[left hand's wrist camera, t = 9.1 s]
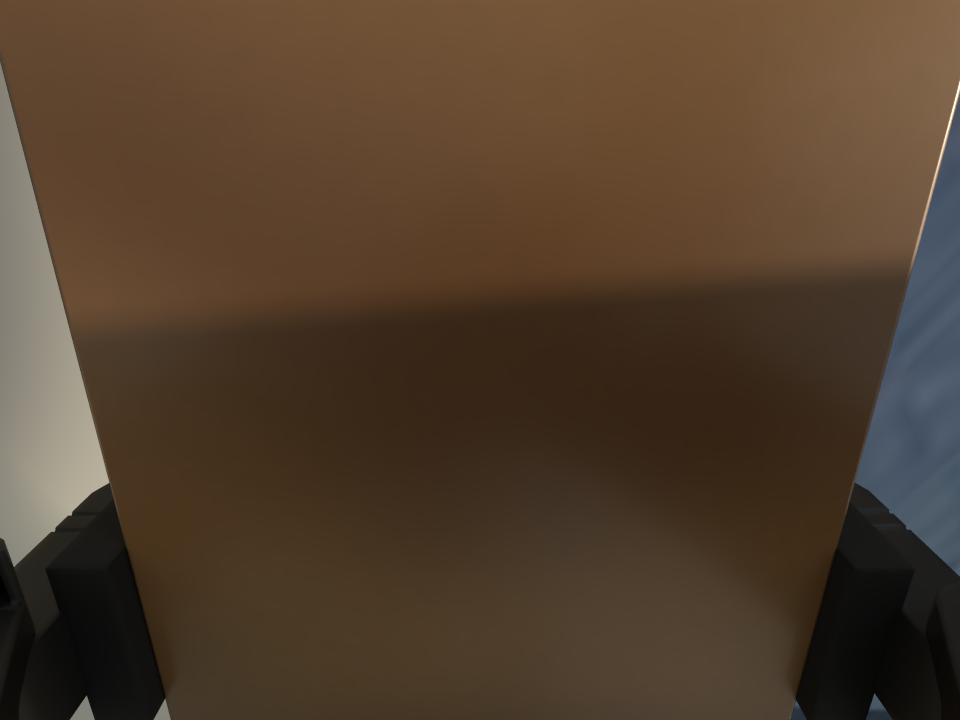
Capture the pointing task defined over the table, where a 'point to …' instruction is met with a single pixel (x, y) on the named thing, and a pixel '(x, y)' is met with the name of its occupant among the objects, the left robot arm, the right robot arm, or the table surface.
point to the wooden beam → (482, 332)
